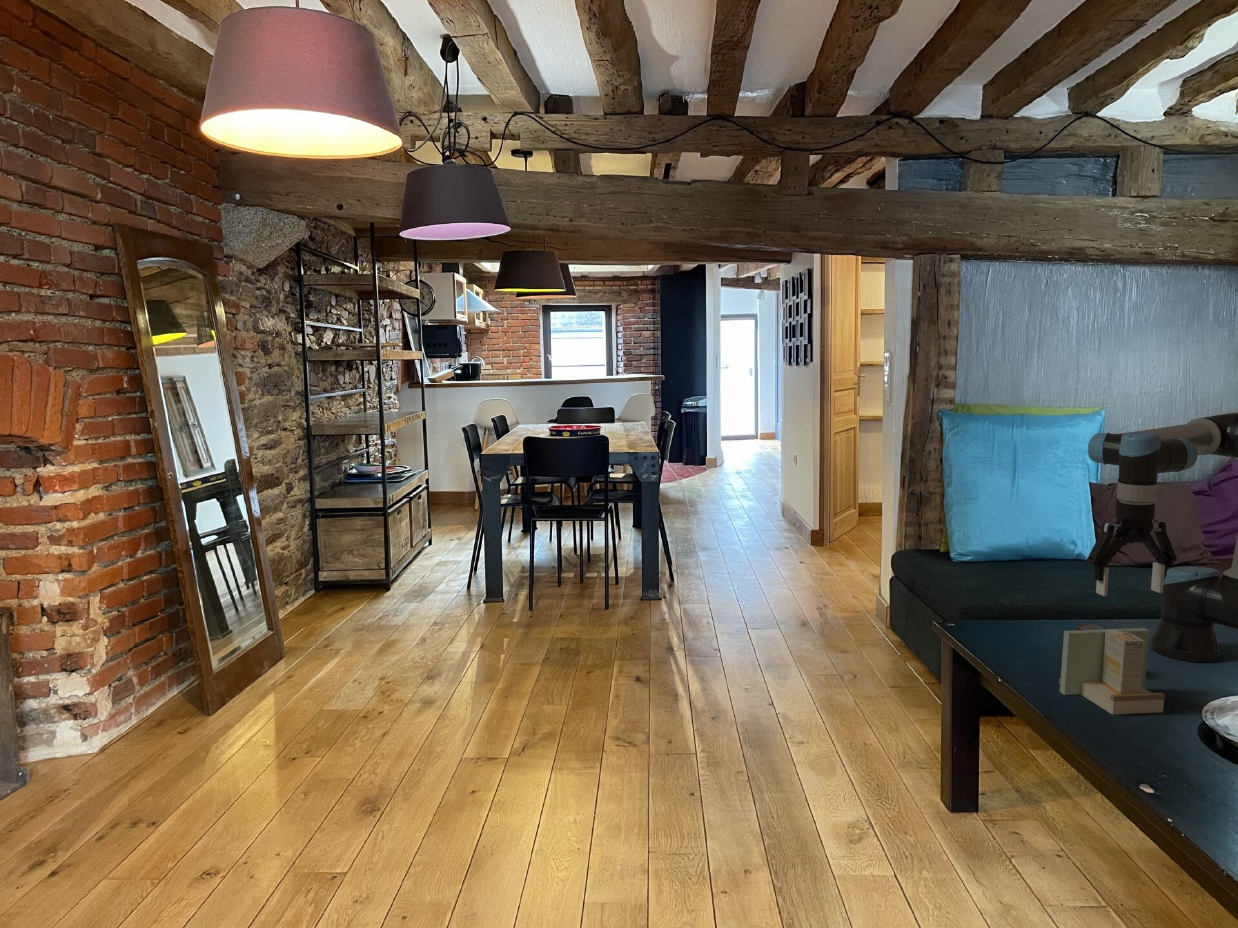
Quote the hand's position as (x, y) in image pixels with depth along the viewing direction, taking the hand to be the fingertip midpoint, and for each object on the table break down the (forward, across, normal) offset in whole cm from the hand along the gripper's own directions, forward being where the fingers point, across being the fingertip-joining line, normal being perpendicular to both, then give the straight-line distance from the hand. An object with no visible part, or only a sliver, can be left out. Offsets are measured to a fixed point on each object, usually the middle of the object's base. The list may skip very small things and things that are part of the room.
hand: (1129, 592), depth 189 cm
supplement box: (+22, +2, +2) cm, 23 cm away
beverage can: (+26, -2, -15) cm, 29 cm away
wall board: (+25, +2, -1) cm, 25 cm away
